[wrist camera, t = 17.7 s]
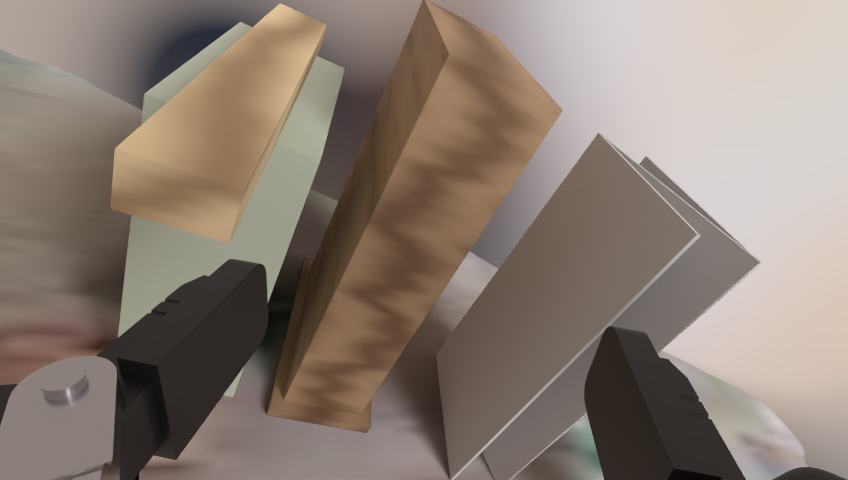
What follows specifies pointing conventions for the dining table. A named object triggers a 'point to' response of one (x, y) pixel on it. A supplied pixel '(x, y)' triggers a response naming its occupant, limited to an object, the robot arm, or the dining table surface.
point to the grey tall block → (578, 304)
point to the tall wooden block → (407, 214)
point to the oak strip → (217, 131)
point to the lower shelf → (266, 210)
